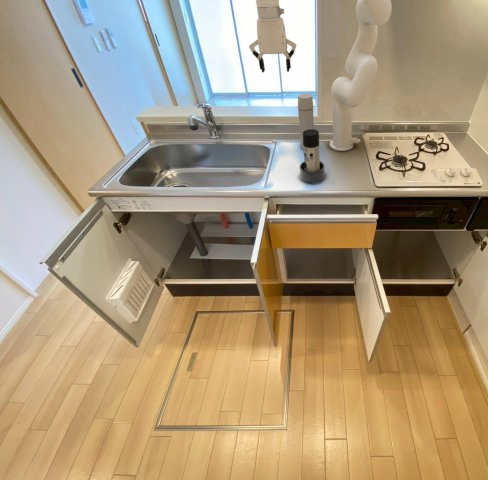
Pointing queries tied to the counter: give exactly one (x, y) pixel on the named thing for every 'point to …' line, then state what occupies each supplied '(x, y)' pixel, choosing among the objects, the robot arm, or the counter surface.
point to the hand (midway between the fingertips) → (275, 71)
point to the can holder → (312, 174)
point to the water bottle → (305, 114)
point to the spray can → (311, 150)
